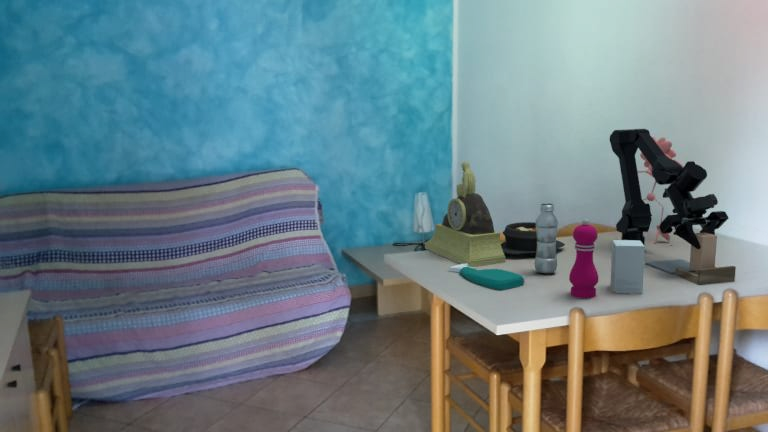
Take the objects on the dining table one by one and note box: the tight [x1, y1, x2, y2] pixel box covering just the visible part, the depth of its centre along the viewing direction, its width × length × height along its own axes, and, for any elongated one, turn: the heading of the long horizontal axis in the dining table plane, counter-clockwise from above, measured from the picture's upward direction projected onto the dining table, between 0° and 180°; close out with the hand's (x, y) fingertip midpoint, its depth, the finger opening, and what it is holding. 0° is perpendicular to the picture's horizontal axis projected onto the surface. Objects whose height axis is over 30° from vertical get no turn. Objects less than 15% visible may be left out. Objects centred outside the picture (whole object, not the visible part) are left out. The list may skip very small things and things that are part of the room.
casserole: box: [500, 221, 566, 257], centre depth 227 cm, size 25×19×8 cm
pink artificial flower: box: [637, 136, 685, 247], centre depth 239 cm, size 15×26×35 cm, turn 36°
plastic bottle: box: [533, 202, 559, 274], centre depth 201 cm, size 6×7×20 cm
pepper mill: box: [568, 218, 599, 299], centre depth 179 cm, size 7×7×20 cm
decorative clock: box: [424, 161, 506, 268], centre depth 222 cm, size 28×13×30 cm, turn 25°
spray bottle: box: [448, 263, 525, 291], centre depth 198 cm, size 3×11×24 cm
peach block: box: [689, 232, 718, 273], centre depth 194 cm, size 4×4×10 cm
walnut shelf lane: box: [675, 265, 737, 286], centre depth 193 cm, size 10×11×4 cm
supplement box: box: [610, 239, 646, 295], centre depth 184 cm, size 7×7×13 cm
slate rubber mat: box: [644, 258, 698, 275], centre depth 205 cm, size 12×12×1 cm
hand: (706, 247), depth 192 cm, fingers closed on peach block, 4 cm apart
